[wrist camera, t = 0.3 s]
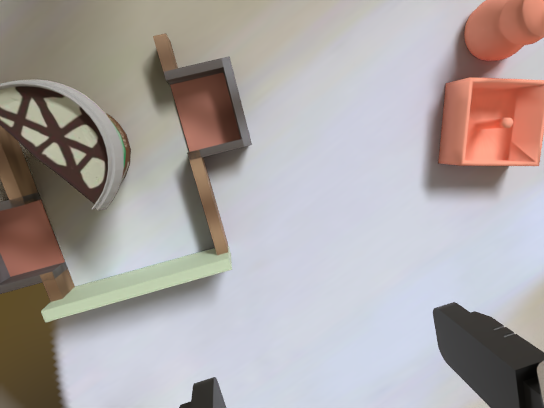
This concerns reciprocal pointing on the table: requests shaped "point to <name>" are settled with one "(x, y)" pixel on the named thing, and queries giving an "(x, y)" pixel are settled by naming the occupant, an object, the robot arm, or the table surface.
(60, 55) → the table surface
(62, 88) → the food container
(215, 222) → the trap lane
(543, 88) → the pottery
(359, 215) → the table surface
